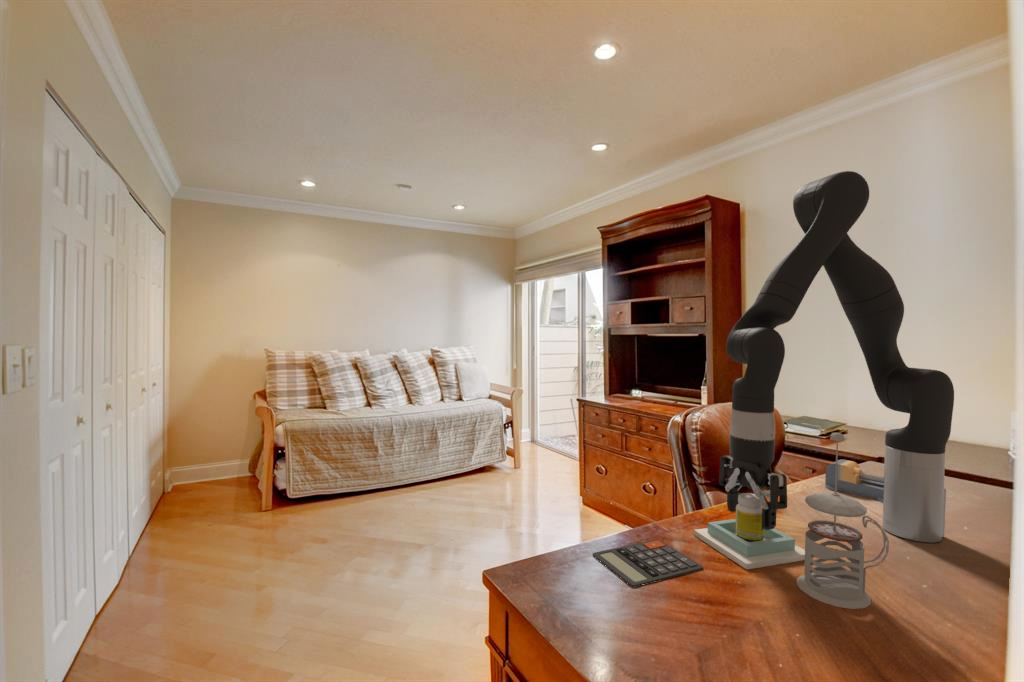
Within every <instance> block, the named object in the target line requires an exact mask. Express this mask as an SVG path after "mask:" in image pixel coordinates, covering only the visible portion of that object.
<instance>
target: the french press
mask: <svg viewBox="0 0 1024 682" xmlns="http://www.w3.org/2000/svg"><path fill="white" fill-rule="evenodd" d="M829 439H830V440H831V441H833V442H834V441H835V442H836V446H835V447H836V451H835V462H836V476H835V491H834V492H831V491H828V492H827V491H826V492H816V493H812V494H809V495H807V496H805V499H804V502H805V504H806V505H807V506H808V507H810V508H811V509H814V510H815V511H817V512H821V513H824V514H827V515H831V516H833V521H831V520H824V519H822V520H821V519H820V520H812V521H809V522H808V524H807V527H808V529H809V530H807V531H805V539H804V541H805V542H804V544H805V545H804V550H805V560H804V569H803V570H804V572H803V573H804V574H802V575H800V576H799V577H797V579H796V584H797V586H798V588H799V589H800V590H801V591H802V592H804V593H805V594H806V595H808V596H809V597H811V598H813V599H815V600H817V601H819V602H821V603H825V604H827V605H830V606H834V607H836V608H837V607H838V608H844V609H851V610H855V609H858V610H859V609H865V608H867V607H869V606H870V605H872V597H870V595H869V594H868V593H867V592H866V572H867V571H866V570H867V569H869V568H873V567H874V568H875V567H877V566H879V565H880V564H882V563H883V562H884V561H885V560H886V559H887V557H888V555H889V551H890V549H889V548H890V541H889V538H888V536H887V533H886V531H885V529H884V528H883V527H882V526H881V524H879V523H878V521H876V520H874V519H873V518H871V517H870V516H869V515H866V514H867V512H868V508H867V507H866V506H865V505H863V504H862V503H861V502H859V501H858V500H856V499H854V498H853V497H850V496H848V495H845V494H842V493H838V491H837V461H838V460H839V459H838V458H839V457H838V452H839V450H838V449H839V442H845V437H844V435H843V434H842V433H840V432H831V434H830V438H829ZM836 517H845V518H859V517H860V518H861V517H862V521H861V522H862V525H863V527H864V528H867V527H868V523H869V522H870V523H872V524H873V525H875V526H876V527H877V528H878V529H879V530H880V531H881V534H882V538H883V539H882V540H883V545H882V548H881V551H880V552H879V554H878V555H877V556H875V557H874V558H872V559H868V560H865V547H864V543H863V541H862V540H863V533H862V532H861V531H859V530H858V529H856V528H854V527H852V526H850V525H847V524H845V523H841V522H839V523H838V522H837V520H836ZM866 518H867V519H866ZM823 539H828V540H827V541H824V542H821V543H817V542H819V541H821V540H823ZM842 542H843V543H842ZM844 542H845V543H847V544H848V545H850V546H851V548H850V547H849V546H847V545H846V544H844ZM829 546H837V547H840V548H841V549H838V548H833V547H829ZM842 549H843V550H842ZM884 551H885V554H884V555H883V553H884ZM882 555H883V557H882ZM881 557H882V558H881ZM814 558H816V559H815V560H814ZM844 558H846V559H847V560H848V561H846V560H845V559H844ZM880 558H881V560H880V561H879V562H877V563H875V564H869V565H866V566H865V564H868V563H872V562H875V561H876V560H878V559H880ZM827 561H834V562H827ZM849 561H850V562H849ZM824 562H827V563H824ZM813 566H815V567H813ZM845 567H847V568H848V569H850V570H848V569H847V568H845Z"/></svg>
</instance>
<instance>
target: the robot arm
mask: <svg viewBox="0 0 1024 682" xmlns="http://www.w3.org/2000/svg"><path fill="white" fill-rule="evenodd" d="M869 199H870V187H869V184H868V181H867V180H866V178H865V177H864V176H863V175H861V174H859V173H858V172H855V171H850V170H849V171H848V170H846V171H840V172H836V173H833V174H831V175H827V176H825V177H822V178H819V179H816V180H813V181H811V182H808V183H806V184H804V185H801V186H800V188H798V189H797V190H796V192H795V194H794V196H793V201H792V206H793V207H792V209H793V213H794V217H795V219H796V221H797V223H798V225H799V227H800V228H801V230H802V231H803V233H804V235H803V236H802V237H801V239H800V240H799V241H798V242H797V243H796V244H795V245H794V247H793V248H792V249H791V250H790V251H789V252H787V253H786V255H785V256H784V257H783V258H781V260H780V261H779V262H778V263H777V264H776V266H775V267H773V269H772V271H771V272H770V274H769V275H768V277H767V278H766V279H765V281H764V284H763V285H762V287H761V289H760V290H759V293H758V295H757V296H756V299H755V301H754V302H753V304H752V305H751V306H750V307H749V308H748V309H747V310H746V311H745V313H743V315H742V316H741V317H740V318H739V320H738V321H737V322H736V323H735V324H734V326H733V327H732V328H731V330H730V332H729V334H728V335H727V338H726V345H725V349H726V353H727V356H728V357H729V358H730V359H731V360H732V361H734V362H736V363H738V364H742V365H746V368H745V371H744V376H743V377H738V378H736V379H735V380H734V381H733V383H732V395H731V396H732V397H731V399H732V400H731V414H730V419H729V455H722V456H720V459H719V472H718V475H719V476H718V483H719V485H720V486H721V487H722V486H723V487H724V488H725V491H726V495H727V496H726V504H727V505H726V506H727V510H728V512H731V513H736V505H737V504H739V503H738V495H739V494H741V492H740V490H741V488H742V487H746V488H747V489H749V490H750V491H752V492H753V494H755V496H756V497H758V498H759V499H760V502H761V504H762V506H761V507H762V528H763V529H765V530H770V529H775V527H776V526H777V511H778V510H785V509H787V508H788V487H787V486H788V485H787V482H788V481H787V480H788V478H787V476H786V474H785V473H781V474H779V473H778V474H777V473H774V472H773V471H772V468H771V465H772V463H773V462H774V460H775V450H776V449H775V447H776V444H775V443H776V441H775V440H776V420H775V388H776V386H777V383H778V380H779V377H780V373H781V371H782V366H783V364H784V360H785V355H786V354H785V353H786V348H785V343H784V339H783V337H782V336H781V334H780V333H779V332H778V331H777V330H776V329H775V328H777V327H778V326H781V325H784V324H786V323H789V322H790V321H791V320H793V318H794V316H795V314H796V313H797V311H798V309H799V307H800V305H801V303H802V301H803V299H804V297H805V295H806V294H807V292H808V291H809V289H810V287H811V285H812V283H813V281H814V280H815V278H816V276H817V274H818V273H819V272H820V271H821V269H822V267H823V268H824V270H825V272H826V274H827V276H828V278H829V280H830V282H831V284H832V286H833V288H834V291H835V293H836V296H837V298H838V301H839V304H840V306H841V307H842V310H843V312H844V314H845V316H846V318H847V320H848V322H849V324H850V325H851V328H852V330H853V333H854V334H855V337H856V340H857V341H858V342H857V343H858V344H859V347H860V349H861V351H862V355H863V356H864V359H865V363H866V366H867V370H868V372H869V373H868V374H869V376H870V378H871V382H872V385H873V388H874V392H875V393H876V396H877V398H878V399H879V401H880V403H881V404H882V405H883V406H884V407H885V408H887V409H889V410H891V411H895V412H900V413H903V414H904V413H905V414H909V418H908V424H907V425H906V426H904V427H901V428H895V429H894V428H892V429H889V430H887V431H886V433H885V435H884V438H885V439H884V462H883V463H884V466H883V470H884V471H883V473H884V474H883V476H884V493H883V503H882V526H881V528H882V529H883V530H884V531H885V532H888V533H890V534H892V535H895V536H897V537H900V538H904V539H905V540H911V541H915V542H919V543H920V542H921V543H938V542H941V541H942V540H943V537H945V532H946V531H945V528H946V525H945V524H946V504H947V503H946V501H947V489H946V488H945V468H946V467H945V465H946V446H947V444H948V443H947V442H948V440H949V438H950V436H951V432H952V421H953V420H952V419H953V413H954V412H953V411H954V404H955V389H954V383H953V381H952V379H951V378H950V377H949V375H948V374H947V373H945V372H943V371H942V370H941V371H940V370H937V369H930V368H929V369H928V368H927V369H926V368H917V367H909V366H908V365H906V363H905V361H904V359H903V358H902V355H901V353H900V350H899V347H898V343H897V342H898V336H899V332H900V330H901V326H902V322H903V319H904V315H905V305H904V301H903V298H902V296H901V294H900V291H899V290H898V287H897V284H896V282H895V281H894V278H893V277H892V275H891V274H890V272H889V271H888V270H887V269H886V268H885V267H884V266H883V265H881V264H880V262H878V261H877V260H875V259H874V258H873V257H872V256H870V255H869V254H868V253H866V252H865V251H864V250H862V249H861V248H860V247H859V246H858V245H857V244H856V243H855V242H854V241H853V240H852V238H851V237H850V235H849V234H848V233H849V232H850V231H849V230H851V228H852V227H853V226H854V225H855V224H856V222H857V221H858V220H859V218H860V217H861V215H862V214H863V212H864V211H865V209H866V208H867V205H868V203H869ZM726 476H727V477H726ZM764 488H765V490H763V489H764Z"/></svg>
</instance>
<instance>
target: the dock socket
mask: <svg viewBox="0 0 1024 682" xmlns="http://www.w3.org/2000/svg"><path fill="white" fill-rule="evenodd" d="M693 535H694V536H695V537H696V538H698V539H700V540H701V541H703V542H704V543H706V545H708V546H710V547H711V548H713V549H715V550H716V551H718V552H719V553H721V554H722V555H723V556H725V557H727V558H728V559H730V560H731V561H732V562H734V563H736V564H737V565H739V566H740V567H742V568H743V569H745V570H753V569H759V568H764V567H765V568H766V567H770V566H777V565H783V564H788V563H789V564H790V563H795V562H800V561H805V548H802V547H800V546H798V545H796V539H795V538H793V537H792V536H790V535H788V534H786V533H783V532H782V531H780V530H777V528H774V529H770V530H765V529H764V540H761V541H755V542H747V541H745V540H743V539H742V538H740V537H738V536H736V518H731V519H724V520H723V519H722V520H717V521H710V522H707V527H704V528H697V529H693Z"/></svg>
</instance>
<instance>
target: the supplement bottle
mask: <svg viewBox="0 0 1024 682" xmlns="http://www.w3.org/2000/svg"><path fill="white" fill-rule="evenodd" d="M738 503H739V504H737V505H736V512H735V519H736V536H738V537H740V538H742V539H743V540H745V541H747V542H755V541H761V540H764V529H763V528H762V508H763V506H762V504H761V502H760V499H759V498H758V497H756V496H755V493H750V492H740V494H739V495H738Z"/></svg>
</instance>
